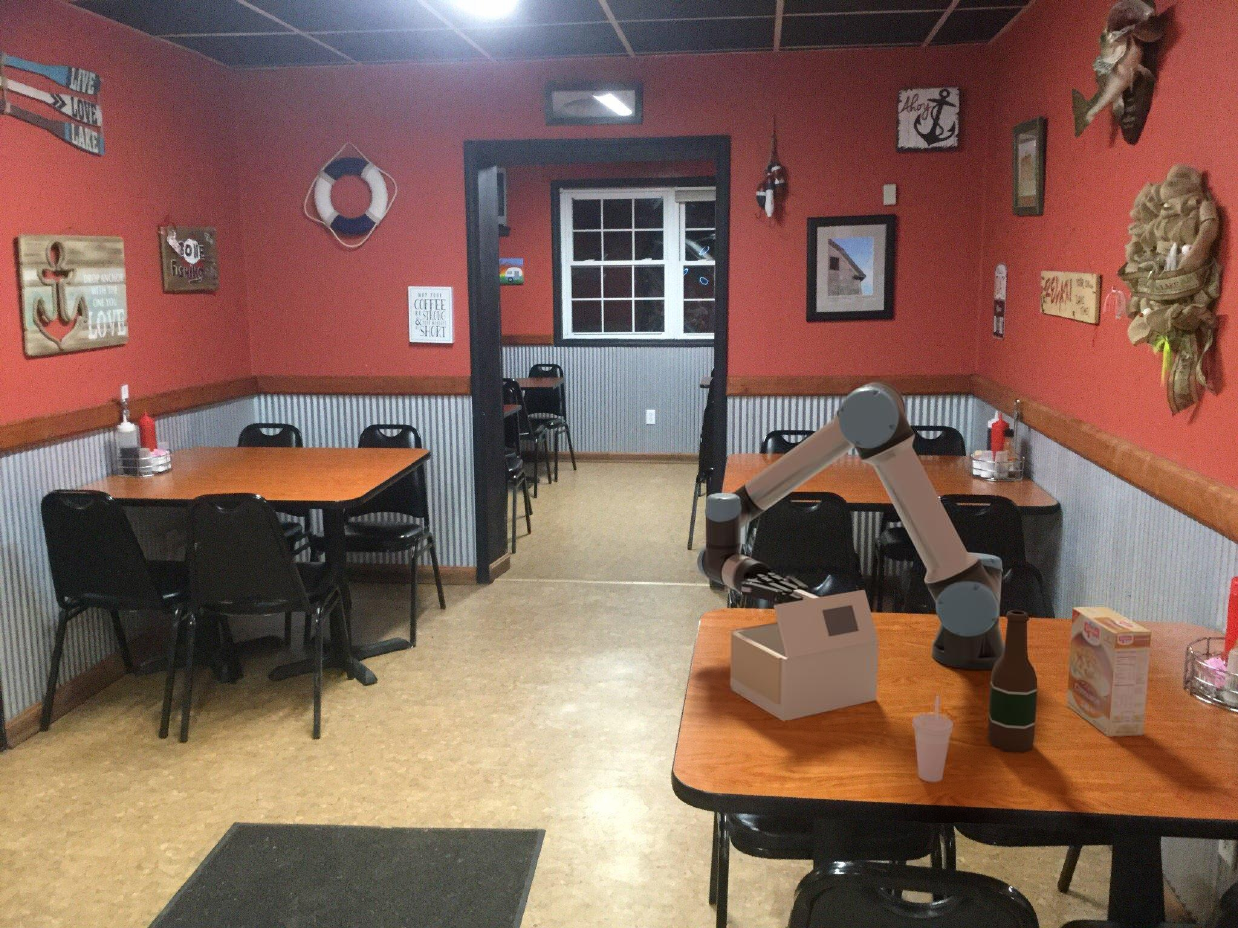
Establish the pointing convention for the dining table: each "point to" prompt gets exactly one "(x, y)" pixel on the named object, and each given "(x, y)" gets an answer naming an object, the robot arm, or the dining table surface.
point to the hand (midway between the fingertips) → (816, 604)
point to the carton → (800, 674)
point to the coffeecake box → (1108, 670)
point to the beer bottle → (1013, 691)
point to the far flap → (825, 623)
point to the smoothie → (932, 743)
